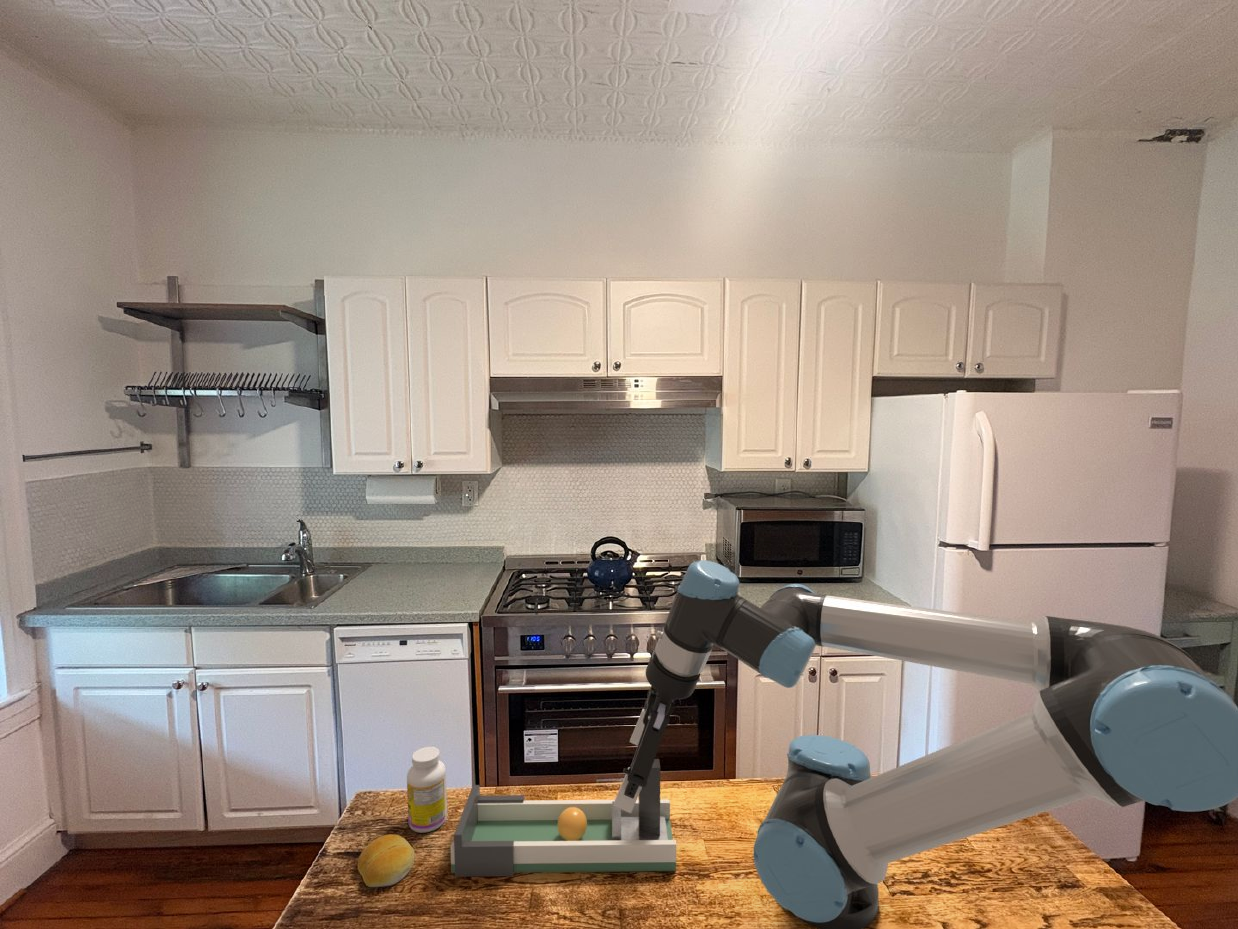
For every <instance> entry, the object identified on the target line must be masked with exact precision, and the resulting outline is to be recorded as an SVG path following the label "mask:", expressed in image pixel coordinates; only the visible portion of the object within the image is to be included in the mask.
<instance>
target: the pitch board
mask: <svg viewBox="0 0 1238 929" xmlns="http://www.w3.org/2000/svg"><path fill="white" fill-rule="evenodd" d="M612 801H615V799H568V800H567V799H558V800H557V799H556V800H555V799H554V800H553V799H544V800H543V799H541V800H538V799H537V800H533V799H532V800H530V799H529V800H526V799H525V801H524V802H509V803H478V822H477V825H476V828H475V831H474V834H473V837H472V840H471V841H514V846H513V849H514V873H567V872H568V873H592V872H594V873H596V872H597V873H598V872H605V873H606V872H607V873H608V872H611V873H613V872H676V871H677V840H676V839H674V838H673V831H672V824H671V801H670V799H668V798H667V799H665V798H660V817H665V821H666V829H667V836H668V840H613V841H612ZM570 807H576V808H579V809H580V810H581V811H583V813H584V814H585V816H586V819H587V829H586V832H585V834H584V835H583V837H582V838H581V839H579V840H577V841H566V840H564V839H563V838H562V837H561V836H560V834H559V832H558V826H557V825H558V819H559V816H560V815H561V813H562V812H563V811H564V810H565V809H567V808H570ZM621 817H638V799H637V800H636V802H635V805H634V807H633V809H632V812H631V813H629V812H626V811H624V810H622V809H621ZM450 870H451V871H450V872H451V873H450V874H455V854H454V841H452V842H451V844H450Z"/></svg>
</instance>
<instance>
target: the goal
mask: <svg viewBox="0 0 1238 929" xmlns="http://www.w3.org/2000/svg"><path fill="white" fill-rule="evenodd" d="M480 793H481V792H480V784H474V785H472V786H471V788H470V792H469V793H468V794H469V795H468V797H467V799H466V803H465V804H464V808H463V810H462V813H461V816H460V818H459V820H458V824H457V826H456V829H455V831H454V834H453V842H454V854H455V873H454V877H457V878H458V877H513V876H514V874H515V872H514V849H513V846H514V841H471V840H472V837H473V834H474V831H475V828H476V825H477V822H478V803H509V802H524V801H526V799H525V795H523V794H518V795H516V794H515V795H514V794H513V795H505V794H504V795H481V794H480Z"/></svg>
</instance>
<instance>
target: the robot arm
mask: <svg viewBox="0 0 1238 929" xmlns="http://www.w3.org/2000/svg"><path fill="white" fill-rule="evenodd" d="M739 588H740V580H739V578H738V576H737V575H736V574H735V573H734V572H731V570H730V569H729V568H727V567H726V566H724V565H722V564H719V563H717V562H714V561H711V560H700V559H699V560H697V561H694V562H691V564H690V565H689V566H688V567H687V569H686V571H685V574H684V576H683V579H682V580H681V582H680V584H679V585H678V586H677V591H676V594H675V596H674V599H673V601H672V604H671V607H670V609H669V612H668V614H667V618H666V620H665V622H664V625H663V628H662V631H661V630H657V631H656V633H655V637H656V638H658V640H657V643H656V644H655V648H654V650H653V652H652V653H651V656H650V659H649V660H648V663H647V666H646V668H645V677H646V680H647V682H648V683H649V685H650V689H649V690H648V691H647V694H646V695H647V696H646V697H647V699H646V700H645V701H644V706H643V707H644V708H642V710H641V712H640V714H639V718H638V720H637V722H636V725H635V727H634V729H633V732H632V734H631V737H630V739H629V743H631V744H632V745H635V746H637V747H636V749H635V753H634V755H633V758H632V762H631V764H630V766H629V767H627V768H625V767H623V770H622V771H623V772H622V773H624V774H625V775H624V778H623V780H622V783H621V785H620V786H619V790H618V792H617V794H616V797H615V798H614V800H615V801H614V805H613V806H615V807H618V808H620V809H622V810H624V811H626V812H629V813H631V812H632V809H633V807H634V805H635V802H636V800H638V795H639V793H640V791H641V788H642V787H643V788H644V787H645V786H646V785H647V779H648V777H649V774H650V771H651V768H652V765H653V762H654V760H655V759H656V756H657V753H658V751H659V748H660V745H661V743H662V741H663V740H662V739H663V737H664V734H665V731H666V729H667V726H668V725H669V724H670V721H671V720H670V719H671V718H670V717H671V715H672V714H673V713H674V710H675V709H676V708H675V707H676V704H677V703H676V702H675V701H676V700H684V699H687V698H688V699H689V697H691V696H692V694H693V693H694V691H695V689H696V687H697V684H698V682H699V680H700V677H701V673H702V672H703V671H704V668H705V666H706V664H707V662H708V659H709V657H710V655H711V653H712V651H713V647H714V645H715V646H716V647H718V648H719V649H721V650H723V651H725V652H726V653H728V654H729V655H731V656H732V657H734V658H735V659H738V660H739V661H740V662H742V663H743V664H745V665H746V666H748V667H750V668H751V669H752V670H754V671H756V672H757V673H759V674H760V675H761V676H762V677H763V678H766V679H769V680H772V681H773V682H775V683H777V684H779V685H780V686H782V687H784V688H787V689H790V688H793V687H795V686H796V685H797V684H798V683H799V682H798V681H799V680H800V679H801V676H802V675H803V673H804V672H805V670H806V668H807V666H808V664H809V661H810V660H811V657H812V656H813V653H814V652H815V648H816V646H817V647H823V648H824V647H825V648H830V649H836V650H840V651H847V652H853V653H858V654H862V655H868V656H869V655H870V656H873V657H874V656H875V657H878V658H886V659H890V660H891V659H892V660H896V661H902V662H906V663H914V664H918V665H923V666H929V667H935V668H940V669H945V670H952V671H957V672H963V673H969V674H974V675H980V676H985V677H990V678H996V679H1001V680H1007V681H1013V682H1017V683H1023V684H1028V685H1031V686H1033V687H1034V688H1035V689H1036V690H1037V693H1036V696H1035V700H1034V701H1035V702H1034V705H1033V709H1032V710H1031V712H1029V713H1026V714H1024V715H1022V716H1018V717H1017V718H1014V719H1011V720H1010V721H1006V722H1004V723H1001V724H1000V725H999V724H998V725H996V726H994V727H992V728H990V729H987V730H985V731H981V732H980V733H978V734H975V735H973V736H970V737H967V738H965V739H962V740H961V741H958V742H956V743H953V744H951V745H948V746H946V747H943V748H941V749H939V750H936V751H934V752H931V753H929V754H927V755H923V756H921V757H919V758H916V759H914V760H911V761H909V762H907V763H904V764H901V765H899V766H896V767H894V768H892V769H890V770H887V771H884V772H883V773H879V774H877V775H875V776H873V777H872V774H871V764H870V760H869V758H868V756H867V755H866V754H865V753H864V751H862V750H861V749H859V748H858V747H856V746H855V745H854V744H852V743H850V742H847V741H845V740H842V739H839V738H836V737H832V736H827V735H821V734H820V735H819V734H805V735H800V736H798V737H795V738H793V739H792V741H790V742H789V745H788V752H787V754H786V755H787V760H788V761H787V762H788V763H787V764H788V766H787V773H786V776H785V778H784V781H782V784H781V786H780V788H779V790H778V791H777V793H776V796H775V798H774V799H773V802H772V804H771V805H770V808H769V810H768V812H767V815H766V816H765V818H764V819H763V822H761V824H760V825H759V826H758V828H757V834H756V838H755V840H754V844H753V855H752V856H753V864H754V867H755V870H756V873H757V874H758V877H759V880H760V882H761V883H762V885H763V886H764V888H765V890H766V891H767V892H768V894H769V895H770V896H771V897H772V898H773V899H774V900H775V901H776V902H777V904H779V905H780V906H781V907H782V908H784V909H785V910H788V911H790V912H791V913H792V914H793V915H794V916H796V917H797V918H799V919H800V920H802V921H804V922H805V923H808V924H810V925H811V926H814V927H816V928H819V929H864V928H867V927H868V926H870V925H871V924H872V923H873V921H874V920H875V919H876V916H877V914H878V911H879V894H880V893H879V892H880V891H879V886H878V885H879V884H881V883H883V881H884V880H885V878H886V876H887V872H888V867H889V864H890V863H892V862H896V861H898V860H903V859H905V858H909V857H911V856H915V855H917V854H920V853H923V852H926V851H929V850H933V849H935V848H939V847H942V846H944V845H949V844H950V843H954V842H957V841H960V840H962V839H966V838H969V837H972V836H976V835H978V834H981V833H984V832H987V831H990V830H994V829H996V828H1000V827H1003V826H1005V825H1009V824H1012V823H1015V822H1018V821H1022V820H1024V819H1027V818H1030V817H1033V816H1036V815H1039V814H1043V813H1045V812H1049V811H1051V810H1054V809H1058V808H1060V807H1061V808H1062V807H1064V806H1067V805H1070V804H1074V803H1077V802H1079V801H1082V800H1085V799H1088V798H1092V799H1097V800H1099V801H1102V802H1104V803H1107V804H1109V805H1111V806H1114V807H1117V808H1120V809H1121V808H1124V807H1128V806H1130V805H1133V804H1134V805H1135V804H1137V803H1141V802H1144V801H1145V802H1147V803H1149V804H1151V805H1154V806H1163V807H1168V808H1169V809H1170V810H1172V811H1179V812H1203V811H1209V810H1210V811H1211V810H1213V809H1214V810H1215V809H1217V808H1221V807H1223V806H1225V805H1227V804H1230V803H1233V801H1235V800H1236V799H1238V706H1237V704H1236V703H1235V701H1234V700H1233V698H1232V696H1230V695H1229V694H1228V693H1226V692H1225V691H1224V690H1223V688H1221V687H1220V686H1218V684H1217V683H1216V682H1215V681H1214V680H1213V679H1212V678H1210V677H1209V675H1207V673H1206V672H1205V671H1203V670H1202V668H1201V666H1199V664H1198V663H1197V662H1196V660H1194V659H1193V658H1192V656H1190V654H1188V652H1186V651H1185V650H1183V648H1181V647H1179V646H1178V645H1176V644H1174V643H1173V642H1171V641H1170V640H1168V639H1166V638H1164V637H1161V636H1160V635H1157V634H1155V633H1152V632H1149V631H1146V630H1143V629H1138V628H1134V627H1129V626H1126V625H1119V624H1112V623H1106V622H1098V621H1091V620H1090V621H1089V620H1088V621H1087V620H1082V619H1081V620H1080V619H1074V618H1073V619H1072V618H1067V617H1066V618H1065V617H1057V616H1050V615H1049V616H1048V615H1041V616H1040V617H1038V618H1036V619H1035V620H1034V621H1025V620H1024V621H1023V620H1018V619H1017V620H1016V619H1010V618H1009V619H1008V618H1001V617H993V616H988V615H987V616H985V615H977V614H971V613H964V612H963V613H962V612H956V611H950V610H949V611H947V610H940V609H934V608H926V607H925V608H924V607H917V606H910V605H903V604H896V603H895V604H894V603H888V602H880V601H872V600H871V601H870V600H865V599H864V600H863V599H857V598H850V597H843V596H836V595H835V596H833V595H826V594H823V593H822V594H821V593H816V592H815V591H813V589H811V588H810V587H809V586H806V585H804V584H799V583H791V584H788V585H785V586H783V587H781V588H778V589H777V590H775V591H774V593H772V595H770V597H769V599H768V600H767V601H766V602H765V603H764V604H762V606H758V605H757V604H754V603H752V601H749V600H747V599H746V598H744V597H743V596H742V595H739V594H738V593H739Z"/></svg>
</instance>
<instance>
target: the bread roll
mask: <svg viewBox="0 0 1238 929" xmlns="http://www.w3.org/2000/svg"><path fill="white" fill-rule="evenodd" d="M415 855H416V853H415V849H414V848H413V846H412V845H411V844H410V842H408V840H407V839H405V837H403V836H401V835H400V834H392V833H391V834H385V835H382V836H380V837H378V838H375V839H374V840H372V841H371V842H370V843H369V844H368V845H367V846H366V847H365V848H364V849H363V850H362V851H361V853H360V855H359V856H358V859H357V860H358V861H357V869H358V872H359V874H360V875H361V877H362V879H363V882H364V884H365V885H366V886H367V887H369V888H382V887H383V888H384V887H389V886H393V885H395V884H397V883H398V882H400V881H401V880H403V879H404V878H405V877H406V876H407V875H408V874H409V872H410V871H411V870H412V868H413V866H414V863H415V857H416V856H415Z"/></svg>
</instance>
